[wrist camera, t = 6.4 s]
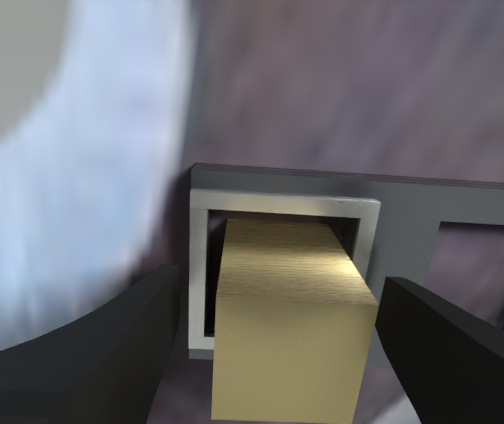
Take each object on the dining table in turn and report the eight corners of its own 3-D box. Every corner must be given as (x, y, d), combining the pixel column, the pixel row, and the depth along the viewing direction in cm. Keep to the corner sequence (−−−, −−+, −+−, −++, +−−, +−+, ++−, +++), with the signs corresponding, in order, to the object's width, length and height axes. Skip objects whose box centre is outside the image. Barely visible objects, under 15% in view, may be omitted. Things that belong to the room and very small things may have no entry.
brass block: (327, 223, 13) (379, 304, 8) (314, 308, 15) (351, 424, 10) (227, 217, 13) (216, 296, 8) (223, 303, 15) (211, 419, 9)
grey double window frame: (581, 188, 13) (620, 198, 12) (514, 352, 16) (539, 376, 14) (196, 162, 12) (190, 170, 11) (193, 338, 15) (188, 362, 14)
